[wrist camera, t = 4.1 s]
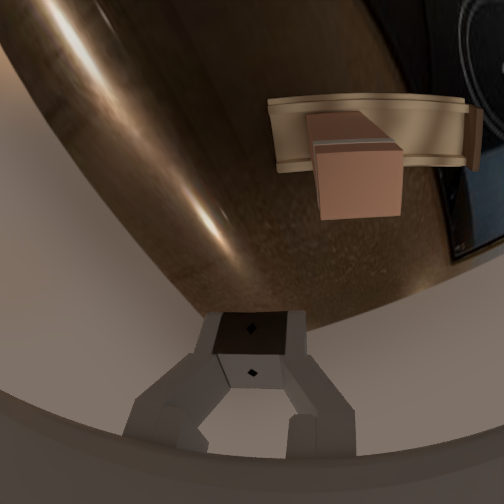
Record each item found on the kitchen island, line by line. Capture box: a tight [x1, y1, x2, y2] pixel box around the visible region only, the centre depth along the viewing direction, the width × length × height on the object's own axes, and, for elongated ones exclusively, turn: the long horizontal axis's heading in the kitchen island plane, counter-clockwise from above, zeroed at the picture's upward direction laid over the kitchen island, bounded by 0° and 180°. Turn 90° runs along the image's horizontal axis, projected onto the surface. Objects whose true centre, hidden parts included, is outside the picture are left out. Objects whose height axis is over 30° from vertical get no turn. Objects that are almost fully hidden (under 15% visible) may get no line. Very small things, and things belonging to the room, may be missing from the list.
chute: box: [268, 93, 483, 173], centre depth 30 cm, size 25×9×4 cm, turn 99°
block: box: [306, 111, 404, 220], centre depth 26 cm, size 6×5×15 cm
